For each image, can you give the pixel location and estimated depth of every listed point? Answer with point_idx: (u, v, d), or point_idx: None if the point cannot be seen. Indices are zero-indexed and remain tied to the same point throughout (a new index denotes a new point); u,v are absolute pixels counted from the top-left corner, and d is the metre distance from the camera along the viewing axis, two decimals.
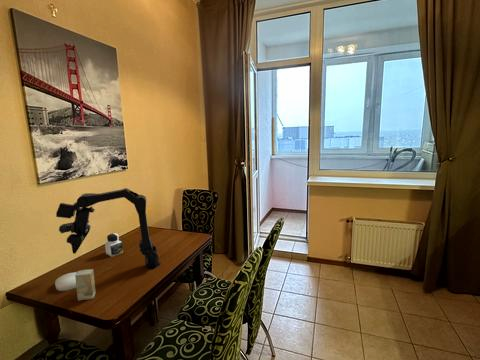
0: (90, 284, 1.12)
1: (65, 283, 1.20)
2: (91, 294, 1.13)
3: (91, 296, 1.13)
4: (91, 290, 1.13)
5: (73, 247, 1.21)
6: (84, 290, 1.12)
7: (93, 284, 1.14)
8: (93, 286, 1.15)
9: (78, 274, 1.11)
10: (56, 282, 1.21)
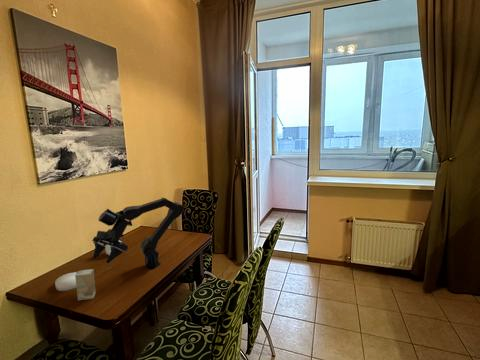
0: (90, 284, 1.12)
1: (65, 283, 1.20)
2: (91, 294, 1.13)
3: (91, 296, 1.13)
4: (91, 290, 1.13)
5: (112, 255, 1.18)
6: (84, 290, 1.12)
7: (93, 284, 1.14)
8: (93, 286, 1.15)
9: (78, 274, 1.11)
10: (56, 282, 1.21)
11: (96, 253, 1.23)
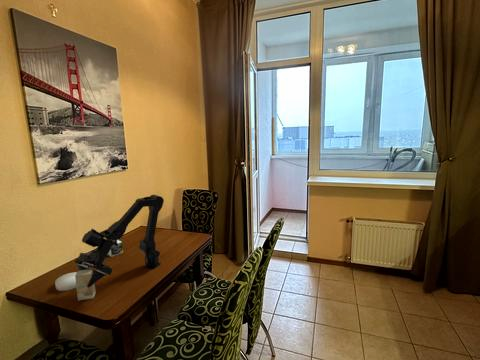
0: None
1: (65, 283, 1.20)
2: (91, 294, 1.13)
3: (91, 296, 1.13)
4: (91, 290, 1.13)
5: (93, 279, 1.12)
6: (84, 290, 1.12)
7: (93, 284, 1.14)
8: (93, 286, 1.15)
9: (78, 273, 1.11)
10: (56, 282, 1.21)
11: None
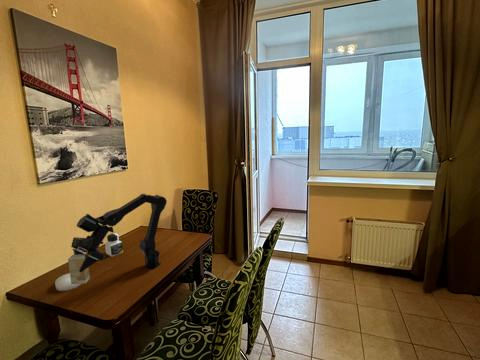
0: None
1: (65, 283, 1.20)
2: (84, 279, 1.13)
3: (84, 281, 1.13)
4: (84, 275, 1.13)
5: (85, 264, 1.11)
6: (77, 274, 1.12)
7: (86, 269, 1.14)
8: (86, 271, 1.14)
9: (71, 258, 1.11)
10: (56, 282, 1.21)
11: None
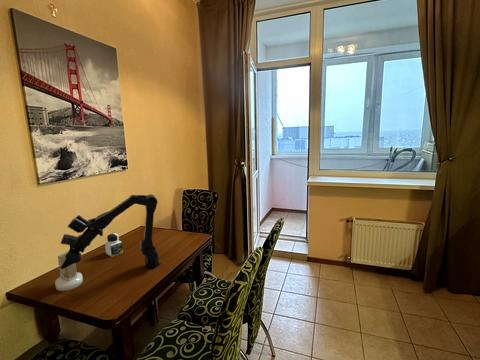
0: (66, 268, 1.20)
1: (65, 283, 1.20)
2: (67, 277, 1.21)
3: (67, 279, 1.21)
4: (67, 274, 1.21)
5: (65, 262, 1.17)
6: (63, 271, 1.21)
7: (71, 268, 1.22)
8: (71, 270, 1.22)
9: (61, 255, 1.21)
10: (56, 282, 1.21)
11: None
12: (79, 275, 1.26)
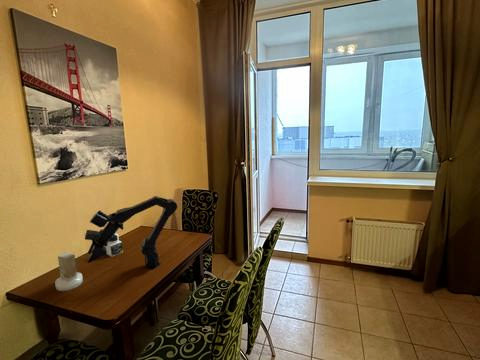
0: (66, 268, 1.20)
1: (65, 283, 1.20)
2: (67, 277, 1.21)
3: (67, 279, 1.21)
4: (67, 274, 1.21)
5: (92, 257, 1.22)
6: (63, 271, 1.21)
7: (71, 268, 1.22)
8: (71, 270, 1.22)
9: (61, 255, 1.21)
10: (56, 282, 1.21)
11: (91, 248, 1.31)
12: (79, 275, 1.26)
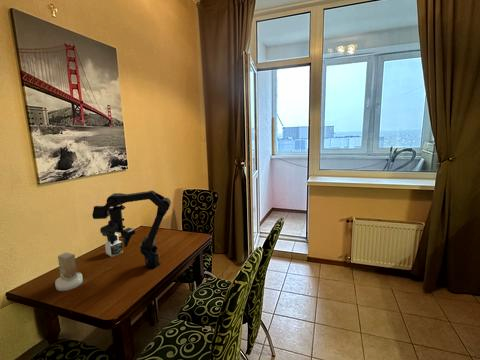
0: (66, 268, 1.20)
1: (65, 283, 1.20)
2: (67, 277, 1.21)
3: (67, 279, 1.21)
4: (67, 274, 1.21)
5: (126, 241, 1.33)
6: (63, 271, 1.21)
7: (71, 268, 1.22)
8: (71, 270, 1.22)
9: (61, 255, 1.21)
10: (56, 282, 1.21)
11: (111, 240, 1.37)
12: (79, 275, 1.26)
